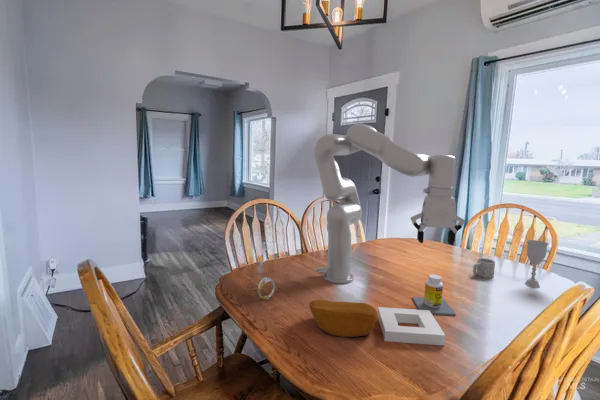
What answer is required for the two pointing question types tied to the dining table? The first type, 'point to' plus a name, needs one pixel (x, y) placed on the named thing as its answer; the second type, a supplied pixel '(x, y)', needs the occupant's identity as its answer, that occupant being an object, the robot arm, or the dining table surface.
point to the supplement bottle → (433, 291)
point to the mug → (484, 268)
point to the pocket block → (420, 335)
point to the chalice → (535, 258)
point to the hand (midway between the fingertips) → (435, 242)
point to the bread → (344, 317)
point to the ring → (263, 285)
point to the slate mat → (442, 310)
